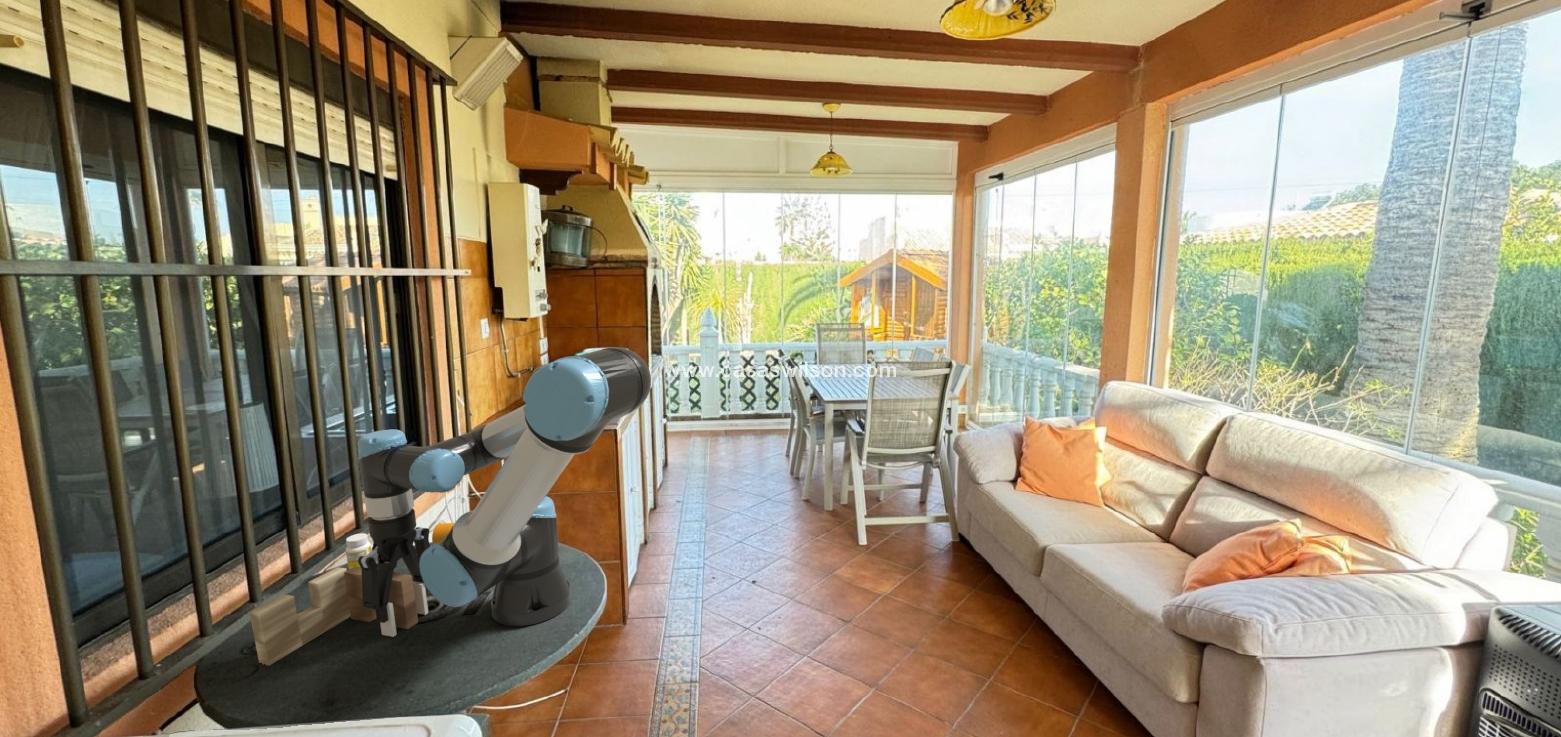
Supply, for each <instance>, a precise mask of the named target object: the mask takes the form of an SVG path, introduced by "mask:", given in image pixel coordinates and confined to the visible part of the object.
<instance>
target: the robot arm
mask: <svg viewBox="0 0 1561 737" xmlns="http://www.w3.org/2000/svg"><path fill="white" fill-rule="evenodd" d="M651 387H652V377H651V370H650V369H649V367H648V365H647V363H646V362H645V360H644V359H643V358H642V357H641V356H640V355H639V354H637V353H636V352H634V351H633V350H630V349H629V348H624V347H615V346H614V347H613V346H612V347H606V348H605V347H604V348H603V349H602V348H601V349H599V350H594V351H592V352H587V353H583V354H580V355H576V356H575V355H574V356H573V355H572V356H565V357H564V356H563V357H560V358H557V359H556V360H554V361H551V362H548V363H546V364H544V365H543V366H540V368H538V369H537V370H535V372H534V373H532V375H531V376H530V378H529V379H528V381H527V383H526V385H525V387H524V391H523V396H522V401H523V402H525V404H524V405H522V406H520V407H518V408H516V409H515V410H513V411H510V412H508V413H505V414H504V415H501V416H500V417H498V418H496V419H494V420H493V421H491V422H488V423H486V424H484V425H481V426H480V427H478V428H476V429H474V430H471V431H469V432H466V433H463V434H461V435H458V436H454V437H451V438H448V439H446V440H442V441H439V442H437V443H433V444H431V445H427V446H415V445H409V444H407V443H408V440H407V438H406V435H405V433H404V432H403V431H402V430H399V429H384V430H383V429H382V430H376V431H372V432H369V433H366V434H364V435H362V436H361V437H360V438H359V439H358V441H357V450H358V452H357V453H358V457H357V460H358V464H359V470H360V477H361V483H362V489H363V493H364V494H363V495H364V496H363V497H364V504H365V510H366V515H367V517H368V518H367V526H368V532H369V533H368V534H369V537H370V538H371V540H372V542H373V544H372V546H371V549H372V551H371V552H370V553H369V554H368V555H366V556H360V557H359V559H358V563H359V565H360V567H361V571H362V595H363V607H366V608H371V609H375V612H376V619H375V620H376V621H377V623H380V630H381V635H382V636H387V637H393V638H394V637H395V636H396V635H398V634H397V627H396V625H395V618H394V610H393V603H389V602H388V601H389V595H390V589H391V583H392V577H393V572H394V570H395V569H396V568H397V565H398V561H399V560H401V559H402V561H403V562H404V564H405V566H406V567H407V569H408V571H409V573H410V575H412V579H413V580H414V581H413V587H414V594H415V602H416V609H417V615H418V614H419V615H424V616H426V615H427V614H429V606H428V599H427V596H428V594H429V592H430V594H431V595H432V596H433V597H434V598H435V599H436V600H437V601H439V602H440V603H441V604H444V605H445V606H449V607H452V608H458V607H463V606H465V605H467V604H468V603H470V602H472V601H475V600H476V599H477V598H478V597H479V596H481V595H483V594H485V593H486V592H488V591H489V590H490V589H491V588H493V587H494V591H493V595H492V599H491V603H490V607H491V608H490V609H491V616H492V618H493V620H494V621H496V622H497V623H499V624H500V625H504V626H510V627H523V626H524V627H525V626H531V625H535V624H539V623H542V622H545V621H547V620H549V619H552V618H554V617H556V616H558V615H559V614H561V613H562V612H563V611H565V609H567V608H568V606H569V605H570V603H571V602H572V588H571V584H570V582H569V581H568V580H567V578H566V576H565V573H564V571H563V568H562V566H561V564H560V553H559V552H560V550H559V539H558V526H557V522H558V521H557V516H558V514H556V509H555V503H554V500H553V499H552V498H550V497H549V496H548V495H547V494H548V493H549V492H550V491H551V489H552V488H553V486H554V485H555V483H556V481H558V479H559V478H560V476H561V474H562V473H563V471H565V469H566V467H567V466H568V464H569V463H570V462H571V460H572V459H573V457H574V456H575V455H580V454H583V453H586V452H588V451H589V450H590V449H591V447H593V445H594V444H595V443H596V441H597V439H598V438H599V437H600V436H601V434H602V432H603V431H604V430H605V429H606V427H607V426H608V425H609V424H610V423H611V422H613V421H615V420H618V419H619V418H622V417H624V416H627V415H629V414H632V413H633V412H635V410H637V409H639V408H640V407H641V406H642V405H643V404H644V403H645V402H646V399H648V397H649V394H650V391H651ZM504 459H506V460H505V461H504V463H503V464H502V466H501V467H500V469H499V470H498V472H497V473H496V475H495V476H494V478H493V480H492V481H491V483H490V484H489V486H488V487H487V489H486V490H485V492H484V494H483V495H482V497H481V499H480V500H479V501H478V503H477V505H476V506H475V508H474V509H473V510H472V509H471V510H470V511H467V512H465V513H463V514H461V515H460V516H459V518H458V519H457V520H456V521H455V522H454V523H455V524H454V525H453V527H452V529H451V530H450V532H449V533H448V535H447V536H446V538H444V539H443V540H442V541H440V542H439V543H437V544H433V543H432V544H431V545H430V539H429V537H430V529H429V528H426V527H421V526H420V527H419V526H417V520H416V510H415V509H414V507H415V500H414V495H413V490H415V491H416V490H417V491H420V492H425V493H432V494H433V493H438V494H441V493H443V494H444V493H447V492H450V491H452V490H454V489H455V488H456V486H457V485H458V484H459V483H460V482H462V480H463V477H464V476H466V475H468V474H469V475H470V474H471V473H474V472H475V471H478V470H480V469H482V468H483V469H484V468H486V467H489V466H490V465H494V464H496V463H499V462H501V461H503V460H504ZM380 598H381V599H380Z"/></svg>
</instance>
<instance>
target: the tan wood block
mask: <svg viewBox="0 0 1561 737" xmlns="http://www.w3.org/2000/svg"><path fill="white" fill-rule="evenodd" d="M344 575H345V582H346V588H347V595H348V601H349V608H350V614H351V617H350V619H351V620H355V621H361V622H367V623H372V622H373V621H374V620H377V619H376V612H375V609H371V608H366V607H363V595H362V571H361V567H357V566H355V567H353V568H351V569H349V568H348V570H347V571H345V572H344ZM413 580H414V578H413V577H412V575H411V574H406V573H399V572H396V571H395V572H394V571H393V577H392V583H391V589H390V595H389V601H388V602H389V603H393V610H394V618H395V625H396V628H399V629H405V630H409V629H410V628H412V627H413V626H415V625H417V624H418V623H419V617H418V613H417V609H416V602H415V594H414V587H413ZM380 599H381V598H380Z"/></svg>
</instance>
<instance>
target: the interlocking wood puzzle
mask: <svg viewBox="0 0 1561 737" xmlns="http://www.w3.org/2000/svg"><path fill="white" fill-rule="evenodd" d="M347 569H348V568H346V567H338V566H336V567H335V568H333V569H331V570H329V571H327V572H325V573H323V574H321V575H319V576H317V577H316V578H312V579H311V580H309V581H308V582H307V584H308V590H309V595H310V601H311V606H310V607H308V608H306V609H304V610H302V611H301V612H299V613H298V612H297V606H296V600H295V596H294V595H289V594H284V593H283V594H282V595H280V596H278V597H276V598H274V599H272V600H270V601H269V602H267V603H264V604H263V605H262V604H261V606H258V607H256V608H254V609H253V610H250V611H249V617H250V622H251V626H252V632H253V637H254V643H255V648H256V649H255V650H256V653H257V659H258V664H259V663H262V664H261V665H264V664H265V666H269V667H270V666H272V665H273V664H275V663H276V662H277V661H279V660H281V659H283V658H284V657H286V656H288V655H289V654H291V653H293V652H294V651H296V650H298V649H300V648H301V647H303V646H305V645H306V644H308V643H309V642H311V641H312V640H315V639H316V638H318V637H319V636H321V635H323V634H324V633H325V632H328V631H329V630H331V629H333V628H335V627H336V626H337V625H339V624H341V623H342V622H344V621H345V620H347V619H349V618H351V614H350V608H349V601H348V595H347V588H346V582H345V575H344V572H345V571H347Z"/></svg>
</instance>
